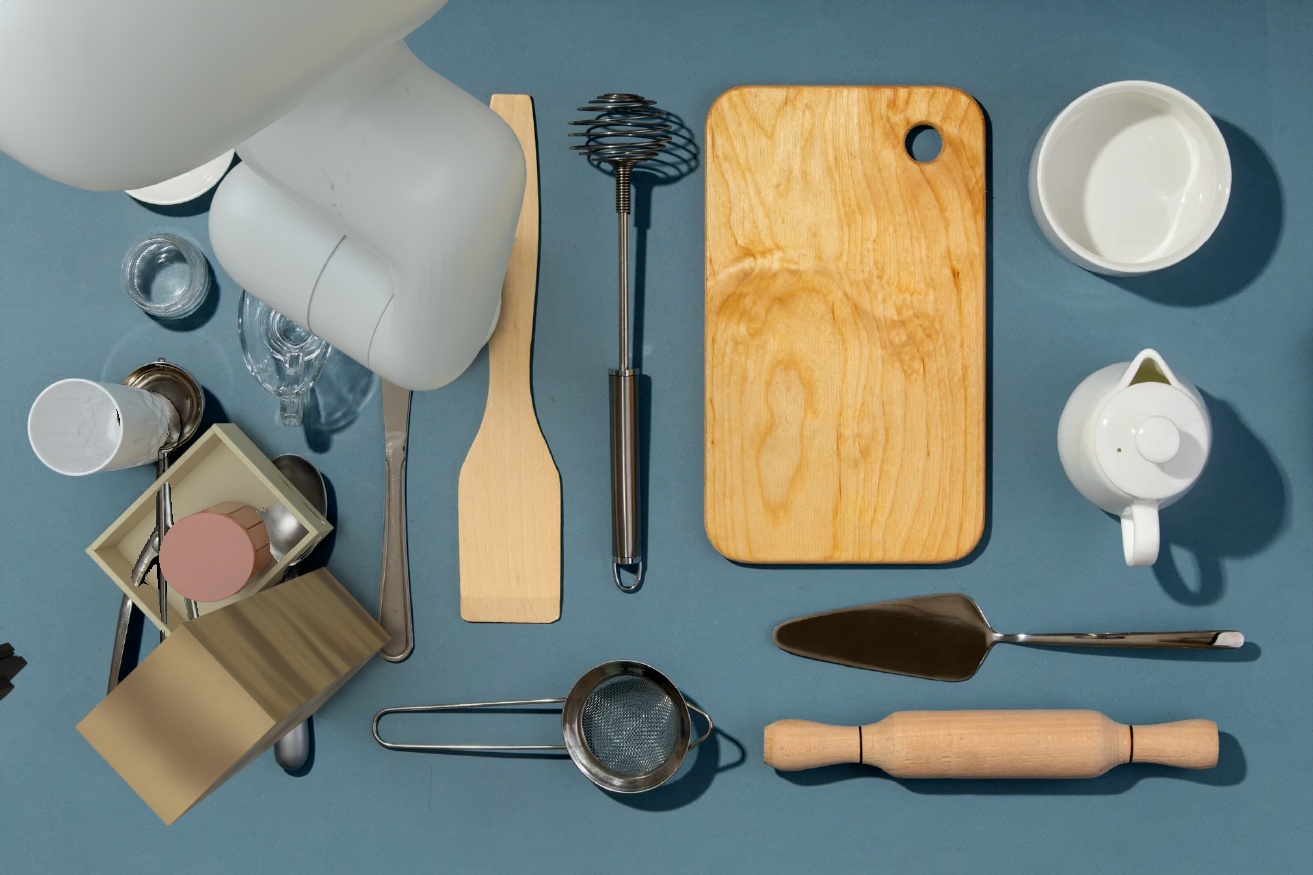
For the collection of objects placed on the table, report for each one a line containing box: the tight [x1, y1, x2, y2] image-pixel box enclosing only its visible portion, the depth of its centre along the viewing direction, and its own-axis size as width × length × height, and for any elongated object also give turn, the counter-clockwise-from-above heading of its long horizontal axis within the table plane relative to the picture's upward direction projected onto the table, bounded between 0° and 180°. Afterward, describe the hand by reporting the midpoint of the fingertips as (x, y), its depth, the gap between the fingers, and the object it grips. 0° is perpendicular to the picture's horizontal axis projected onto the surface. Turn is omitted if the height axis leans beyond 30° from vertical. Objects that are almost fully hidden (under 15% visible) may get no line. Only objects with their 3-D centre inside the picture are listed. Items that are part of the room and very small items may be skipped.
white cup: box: [27, 377, 171, 477], centre depth 80 cm, size 8×8×10 cm
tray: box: [84, 422, 334, 638], centre depth 83 cm, size 16×13×4 cm
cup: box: [159, 502, 273, 602], centre depth 81 cm, size 8×8×6 cm
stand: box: [74, 566, 392, 827], centre depth 73 cm, size 10×9×24 cm
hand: (1, 670), depth 53 cm, fingers closed
